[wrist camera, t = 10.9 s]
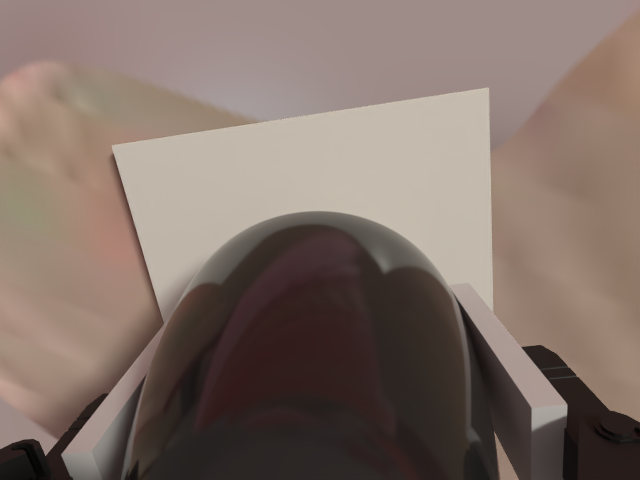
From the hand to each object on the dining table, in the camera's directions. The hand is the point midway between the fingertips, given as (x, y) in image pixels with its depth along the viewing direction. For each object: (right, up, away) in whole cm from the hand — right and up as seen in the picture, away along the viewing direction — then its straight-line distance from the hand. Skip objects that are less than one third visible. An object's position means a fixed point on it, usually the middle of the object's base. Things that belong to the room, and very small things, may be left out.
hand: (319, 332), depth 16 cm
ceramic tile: (0, +1, +4) cm, 5 cm away
